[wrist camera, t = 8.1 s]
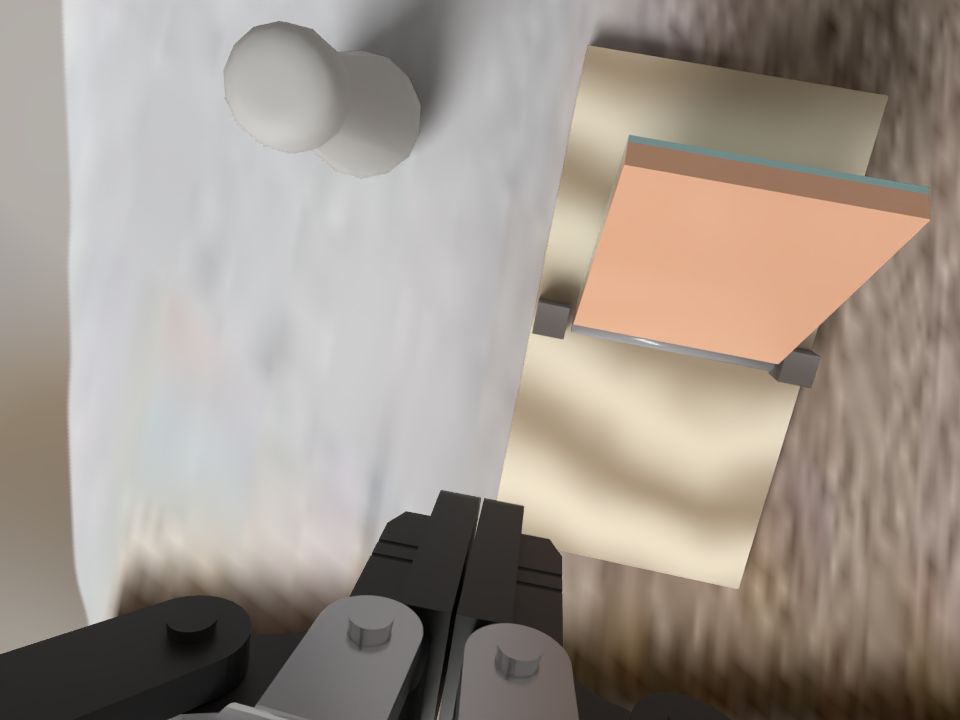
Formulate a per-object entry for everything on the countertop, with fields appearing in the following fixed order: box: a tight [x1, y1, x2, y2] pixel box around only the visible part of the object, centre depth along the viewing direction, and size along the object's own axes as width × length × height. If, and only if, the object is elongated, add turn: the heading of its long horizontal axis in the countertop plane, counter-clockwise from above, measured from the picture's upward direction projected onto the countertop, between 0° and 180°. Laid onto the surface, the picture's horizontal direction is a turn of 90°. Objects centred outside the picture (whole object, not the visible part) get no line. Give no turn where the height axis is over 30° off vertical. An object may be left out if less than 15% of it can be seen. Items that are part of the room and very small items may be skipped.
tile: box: [571, 135, 931, 371], centre depth 29 cm, size 13×10×1 cm
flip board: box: [497, 45, 889, 589], centre depth 36 cm, size 26×14×3 cm, turn 170°
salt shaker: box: [224, 21, 421, 179], centre depth 30 cm, size 6×6×13 cm
